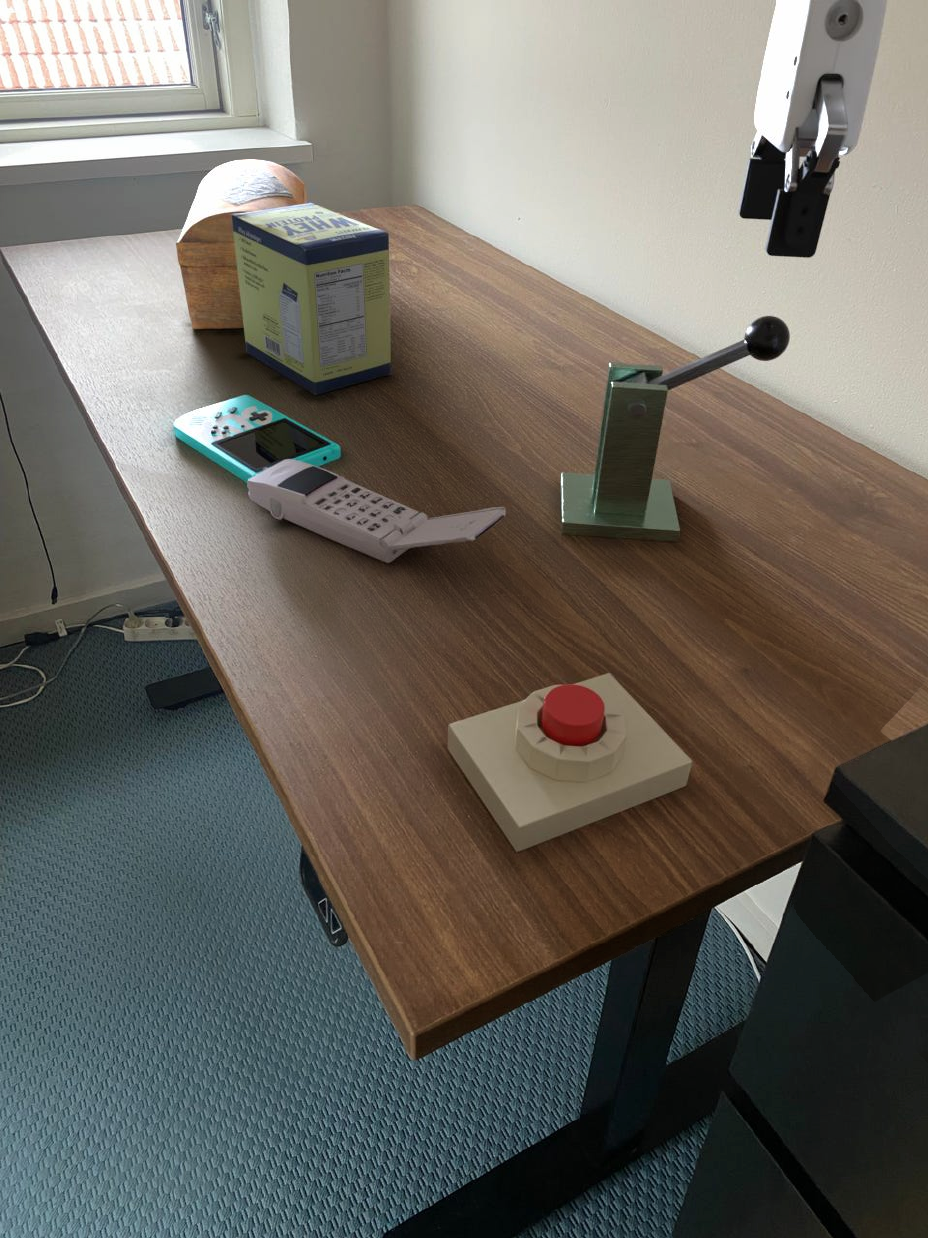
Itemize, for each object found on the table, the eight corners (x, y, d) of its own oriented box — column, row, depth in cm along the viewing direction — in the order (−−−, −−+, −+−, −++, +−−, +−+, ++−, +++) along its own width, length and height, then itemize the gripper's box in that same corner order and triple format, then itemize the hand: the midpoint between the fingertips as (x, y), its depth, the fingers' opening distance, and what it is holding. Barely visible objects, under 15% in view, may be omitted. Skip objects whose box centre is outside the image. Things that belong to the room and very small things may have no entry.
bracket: (667, 490, 86) (693, 358, 79) (677, 542, 79) (707, 402, 71) (560, 483, 87) (575, 350, 79) (561, 534, 80) (577, 394, 72)
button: (580, 698, 57) (583, 677, 56) (612, 736, 55) (616, 714, 54) (530, 715, 56) (532, 694, 55) (561, 754, 54) (564, 732, 53)
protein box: (318, 334, 115) (310, 200, 105) (393, 375, 105) (392, 232, 96) (243, 352, 109) (228, 212, 100) (315, 397, 100) (306, 247, 90)
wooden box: (319, 329, 116) (312, 212, 108) (184, 330, 114) (166, 210, 106) (319, 258, 140) (314, 157, 131) (207, 257, 138) (194, 155, 129)
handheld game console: (249, 403, 98) (248, 391, 97) (345, 456, 90) (344, 444, 89) (165, 430, 92) (163, 418, 92) (258, 490, 84) (257, 477, 83)
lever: (790, 340, 74) (777, 302, 73) (799, 356, 72) (786, 316, 70) (625, 411, 79) (609, 377, 77) (627, 429, 76) (612, 394, 75)
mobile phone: (470, 540, 68) (220, 438, 78) (464, 605, 71) (226, 499, 81) (512, 507, 72) (269, 414, 82) (504, 570, 75) (273, 474, 85)
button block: (605, 696, 63) (613, 651, 61) (686, 786, 57) (698, 740, 54) (447, 749, 59) (448, 702, 56) (516, 853, 52) (521, 805, 50)
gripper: (957, -60, 48) (862, 275, 59) (861, -64, 62) (798, 208, 72) (813, -66, 48) (742, 269, 59) (749, -68, 62) (701, 203, 73)
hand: (773, 235), depth 66 cm, fingers open, 9 cm apart
